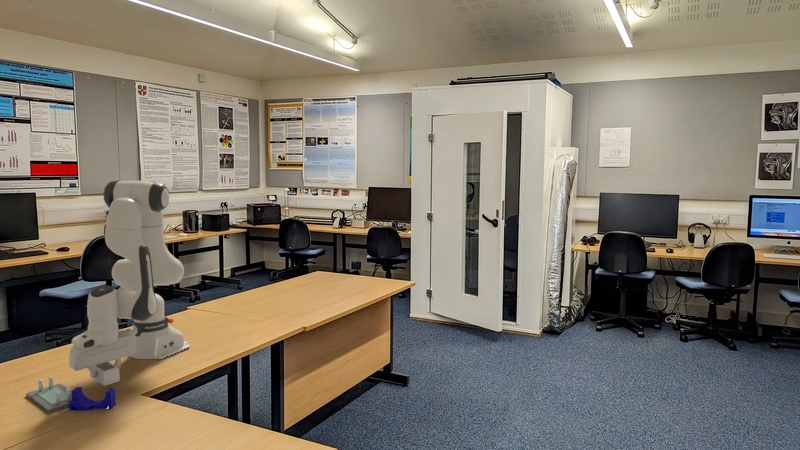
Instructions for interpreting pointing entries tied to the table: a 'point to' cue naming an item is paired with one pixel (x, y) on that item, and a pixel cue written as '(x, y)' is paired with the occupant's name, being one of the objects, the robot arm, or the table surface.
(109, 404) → the cable clip
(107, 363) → the block
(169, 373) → the table surface
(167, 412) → the table surface
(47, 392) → the pin tray
